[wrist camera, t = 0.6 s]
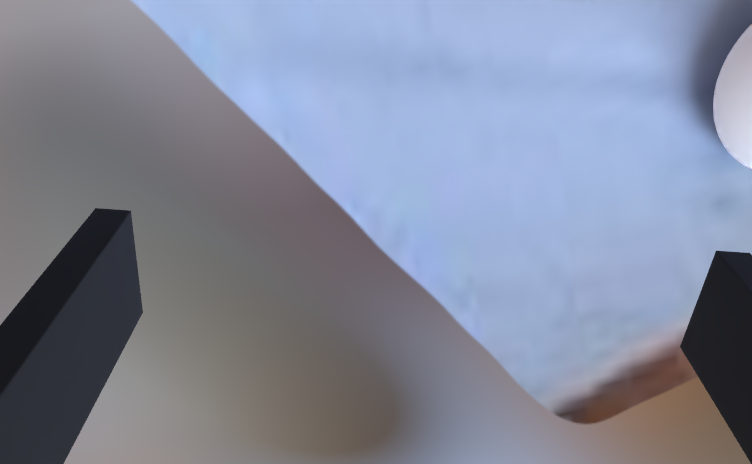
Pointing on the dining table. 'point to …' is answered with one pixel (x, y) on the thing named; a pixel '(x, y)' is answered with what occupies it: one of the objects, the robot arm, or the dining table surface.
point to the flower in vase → (736, 100)
